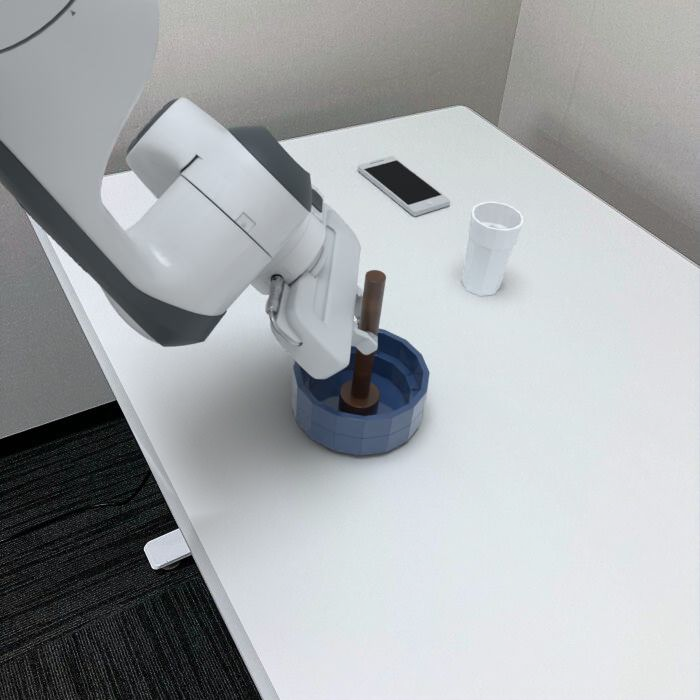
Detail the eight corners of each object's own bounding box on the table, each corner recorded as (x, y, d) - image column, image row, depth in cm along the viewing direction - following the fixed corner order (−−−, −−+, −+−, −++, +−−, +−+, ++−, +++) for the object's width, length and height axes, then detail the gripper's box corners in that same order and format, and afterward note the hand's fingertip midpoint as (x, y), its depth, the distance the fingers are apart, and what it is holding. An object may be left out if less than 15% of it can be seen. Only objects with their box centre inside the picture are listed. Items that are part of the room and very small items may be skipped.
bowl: (340, 479, 79) (345, 440, 75) (268, 392, 87) (268, 353, 83) (447, 424, 86) (456, 386, 82) (370, 348, 94) (375, 310, 90)
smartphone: (414, 216, 116) (415, 211, 116) (356, 169, 125) (357, 164, 125) (450, 205, 120) (451, 200, 119) (391, 160, 129) (392, 155, 128)
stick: (353, 425, 84) (370, 295, 72) (330, 400, 86) (343, 270, 74) (385, 410, 86) (407, 281, 74) (362, 386, 88) (380, 257, 76)
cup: (481, 264, 109) (498, 196, 101) (514, 289, 105) (534, 221, 98) (446, 278, 106) (460, 209, 98) (479, 305, 102) (497, 235, 95)
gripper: (290, 300, 63) (395, 395, 70) (315, 175, 79) (399, 263, 85) (237, 336, 66) (342, 424, 73) (271, 208, 82) (356, 291, 88)
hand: (373, 336), depth 79 cm, fingers closed on stick, 2 cm apart
